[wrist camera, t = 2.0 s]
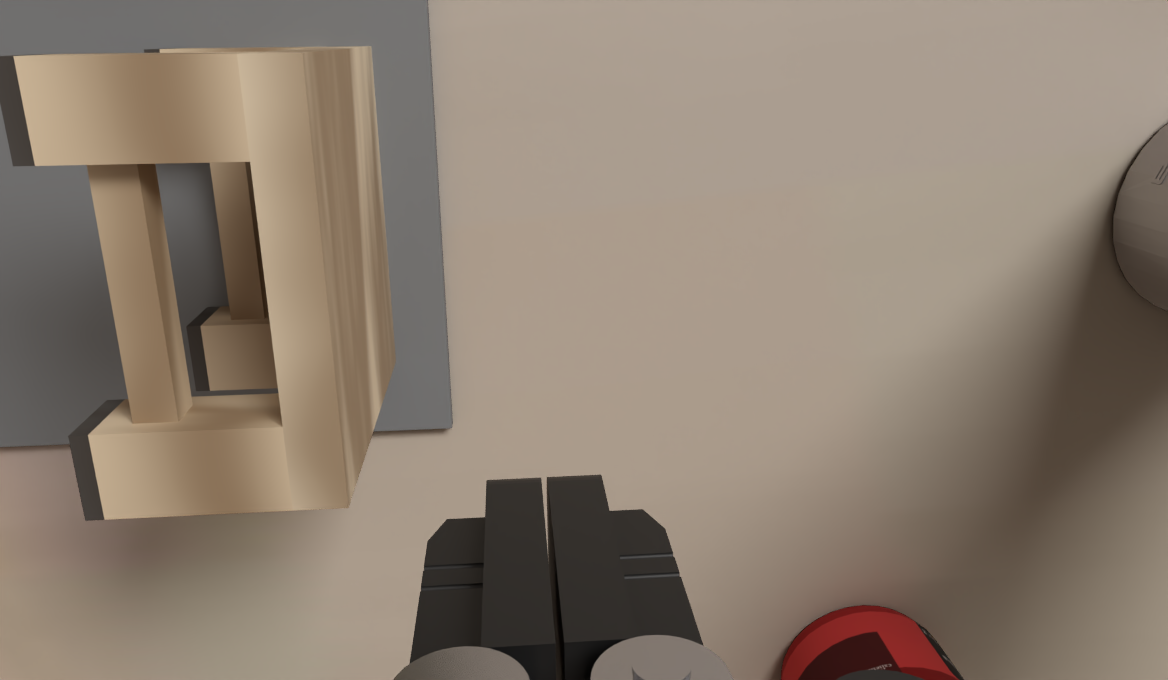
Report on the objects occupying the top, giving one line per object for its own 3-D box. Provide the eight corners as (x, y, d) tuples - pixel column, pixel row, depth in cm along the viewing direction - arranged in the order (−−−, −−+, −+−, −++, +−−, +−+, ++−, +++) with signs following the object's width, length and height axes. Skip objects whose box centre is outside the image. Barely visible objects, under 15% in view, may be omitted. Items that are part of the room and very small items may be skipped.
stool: (216, 367, 36) (85, 520, 25) (169, 48, 32) (-10, 56, 21) (396, 361, 37) (348, 508, 25) (371, 46, 33) (302, 53, 22)
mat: (425, -44, 33) (424, -45, 32) (452, 423, 38) (452, 427, 38) (-267, -42, 31) (-280, -43, 30) (-130, 447, 37) (-139, 452, 36)
